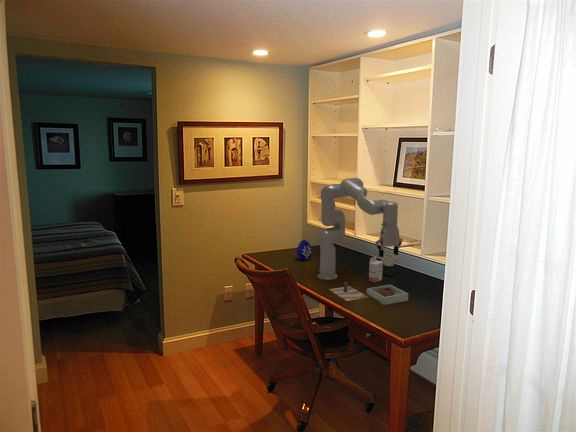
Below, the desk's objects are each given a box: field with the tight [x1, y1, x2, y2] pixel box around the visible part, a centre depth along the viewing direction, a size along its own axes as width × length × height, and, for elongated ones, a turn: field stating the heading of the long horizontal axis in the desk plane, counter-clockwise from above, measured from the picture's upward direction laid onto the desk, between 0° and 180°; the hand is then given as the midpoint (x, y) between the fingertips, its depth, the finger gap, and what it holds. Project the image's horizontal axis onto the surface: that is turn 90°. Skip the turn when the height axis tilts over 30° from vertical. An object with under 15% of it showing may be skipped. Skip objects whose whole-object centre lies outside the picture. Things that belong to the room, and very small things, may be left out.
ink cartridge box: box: [368, 255, 384, 283], centre depth 278 cm, size 9×5×15 cm, turn 141°
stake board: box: [329, 281, 369, 302], centre depth 254 cm, size 20×14×6 cm
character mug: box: [380, 253, 397, 276], centre depth 289 cm, size 11×7×13 cm, turn 107°
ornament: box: [296, 239, 313, 261], centre depth 324 cm, size 11×9×15 cm
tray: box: [366, 284, 409, 306], centre depth 249 cm, size 16×16×4 cm
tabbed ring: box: [379, 287, 395, 297], centre depth 250 cm, size 6×8×4 cm
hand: (388, 255), depth 245 cm, fingers open, 9 cm apart
